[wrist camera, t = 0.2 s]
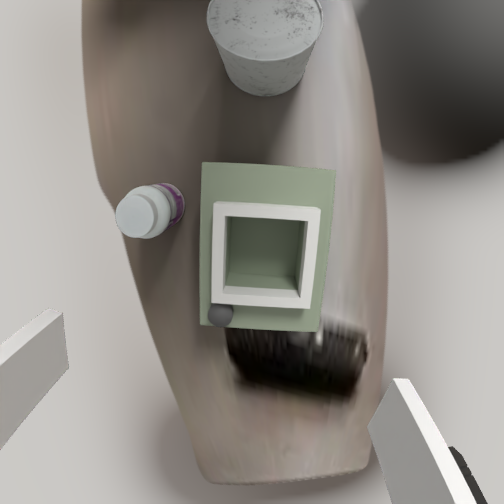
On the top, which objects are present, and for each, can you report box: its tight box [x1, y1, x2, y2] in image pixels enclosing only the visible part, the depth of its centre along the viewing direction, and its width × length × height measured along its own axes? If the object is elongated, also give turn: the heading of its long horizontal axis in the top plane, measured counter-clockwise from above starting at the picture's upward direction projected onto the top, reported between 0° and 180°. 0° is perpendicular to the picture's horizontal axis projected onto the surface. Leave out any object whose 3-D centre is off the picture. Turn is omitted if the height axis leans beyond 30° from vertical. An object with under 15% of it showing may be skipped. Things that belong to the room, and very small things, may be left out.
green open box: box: [200, 162, 336, 332], centre depth 32 cm, size 16×12×10 cm
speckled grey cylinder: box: [207, 0, 324, 96], centre depth 25 cm, size 10×10×12 cm
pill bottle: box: [115, 183, 185, 239], centre depth 32 cm, size 5×5×10 cm
